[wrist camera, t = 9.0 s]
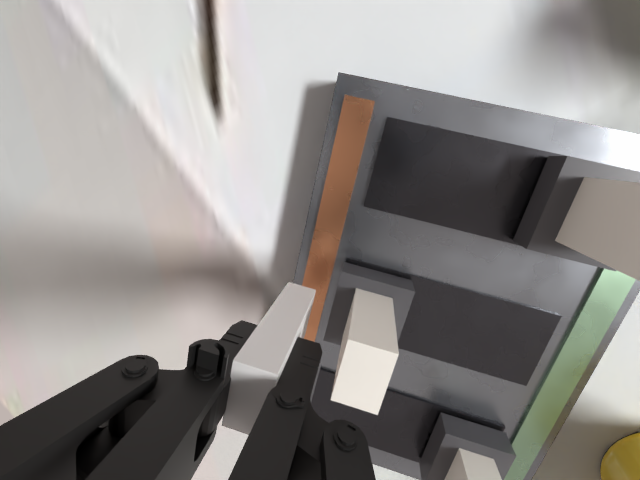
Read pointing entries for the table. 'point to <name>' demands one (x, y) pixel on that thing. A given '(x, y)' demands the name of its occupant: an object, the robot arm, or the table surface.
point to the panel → (458, 265)
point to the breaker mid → (367, 333)
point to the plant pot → (622, 460)
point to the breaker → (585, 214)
